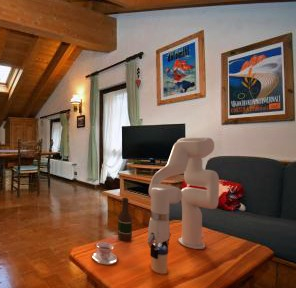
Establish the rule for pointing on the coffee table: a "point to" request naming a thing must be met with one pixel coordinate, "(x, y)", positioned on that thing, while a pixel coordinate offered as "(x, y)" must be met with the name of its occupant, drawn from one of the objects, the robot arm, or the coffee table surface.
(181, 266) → the coffee table surface
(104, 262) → the teacup
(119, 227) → the beer bottle
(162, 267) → the jar
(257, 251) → the coffee table surface
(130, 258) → the coffee table surface
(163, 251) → the jar lid
